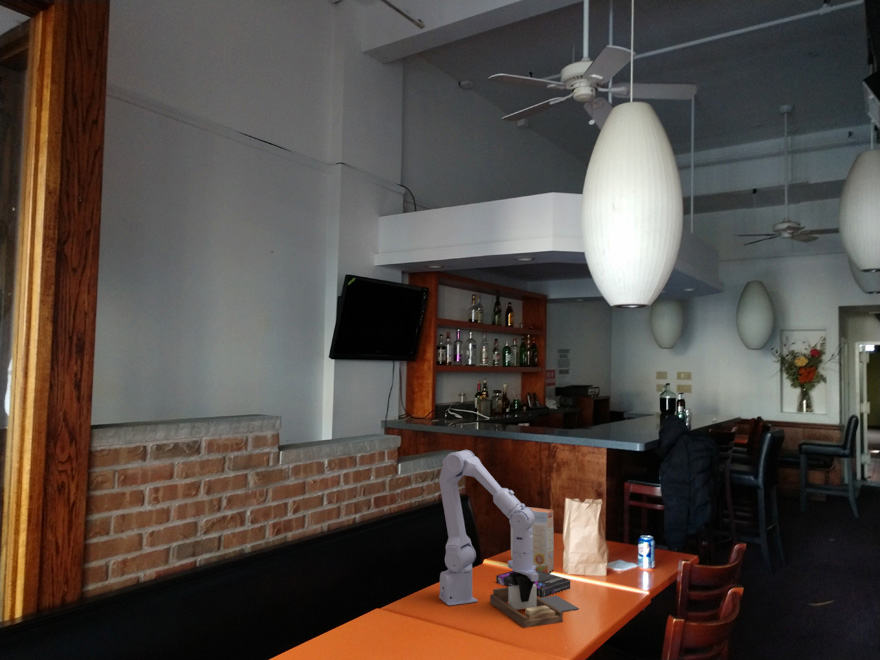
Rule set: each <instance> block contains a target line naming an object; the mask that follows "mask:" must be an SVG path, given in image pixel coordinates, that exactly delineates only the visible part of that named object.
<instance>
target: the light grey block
mask: <svg viewBox="0 0 880 660" xmlns="http://www.w3.org/2000/svg"><path fill="white" fill-rule="evenodd" d="M537 597H538V596H537V585H535V584H534V585H533V587H532V589H531V593H530V597H529V601H527V602H522V601H521V598H520V589H519V585H516V586H509V589H508V602H507V604H508V605H510V606H511V607H513V608H514V609H515V610H517V611H518V610H522V609H526V608H532V607H537Z"/></svg>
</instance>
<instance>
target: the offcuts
mask: <svg viewBox="0 0 880 660" xmlns="http://www.w3.org/2000/svg"><path fill="white" fill-rule="evenodd" d="M524 609H525V611H524V612H525V615H524V616H526V617H527V620H530V619H537V618H543V617H550V616H555V611H553V610H551V609H549V607H547V606H545V605H544V606H538V607H532V608H524Z"/></svg>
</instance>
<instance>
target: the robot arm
mask: <svg viewBox="0 0 880 660" xmlns="http://www.w3.org/2000/svg"><path fill="white" fill-rule="evenodd" d="M441 464H442V468H441V471H440V475H439V478H438V479H439V480H438V481H439V488H440V493H441V499H442V506H443V507H442V508H443V510H444V511H443V512H444V517H445V523H446V525H445V526H446V529H447V536H448V538H447V542H446V544H445V554H444V555H445V556H444V563H445V566H446V568H447V570H444V571H441V572H440V575H439V596H438V598H439V599H440V600H441V601H442V602H443V603H445V604H446V605H447V606H457V605H464V604H472V603H477V602H478V599H476V598H475V597H473V563H474V562H475V561H476V558H477V554H476V553H477V552H476V550H475V548H474V546H473V545H472V541H471V538H470V537H469V536H468V535H467V532H466V527H465V520H464V514H463V508H462V501H461V497H460V496H461V495H460V491H459V484H458V483H459V481H460V480H461V479H462V477H463V476H466V477H467V476H468V477H472V478H475V480H477V482H479V483H480V484H481V486H483V487H484V488H485V489H486V490H487V491H488V492H489V493H490V494H491V495H492V498H493V499H492V501H493V503H494V504H495V506H497V508H498V509H499V510H500V511H501V512H502V514H504V515H505V516H506V517H507V518H508V519H509V524H510V528H511V527H512V528H513V560H512V561H511V560H507V568H508V569H511V571H513V572H512V573H509V575H510V577H511V579H512V582H513V585H514V586H516V585H519V589H520V598H521V601H522V602H527V601H529V597H530V593H531V589H532V587H533V585H534V583H535V581H538V573H536V571H535V569H536V566H534V565H533V527H531V526H532V525H533V524H534V522H535V514H534V512H533V511H532V509H531V508H529V506H526V504H525V503H522V502H521V501H520V500H519V499H518V498H517V497H516V496H515V495H514V494H515V492H514V491H513V490H512V489H509V488H507V487H501V485H500V484H499V483H498V481H497V480H495V478H494V476H492V475H491V474H490V472H489V471H488V470H487V468H486V467H485V466H484V465H483V464H482V462H481V459H480V458H479V457H477V456H475V453H474V452H472V450H468V449H462V450H461V451H455V452H452V451H451V452H450V453H448V454H447V455H446V456H445V458H444V459H443V460H442V462H441ZM529 527H530V528H529Z"/></svg>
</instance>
